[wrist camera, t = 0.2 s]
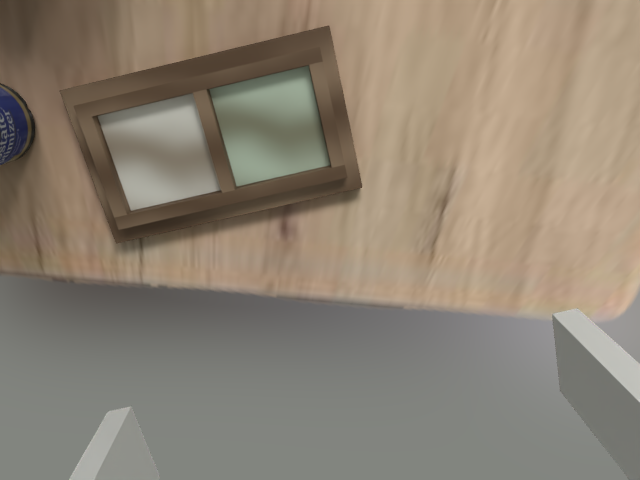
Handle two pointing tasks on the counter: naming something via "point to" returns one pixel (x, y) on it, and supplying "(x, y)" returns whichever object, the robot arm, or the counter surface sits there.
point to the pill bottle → (14, 125)
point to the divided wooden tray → (216, 135)
